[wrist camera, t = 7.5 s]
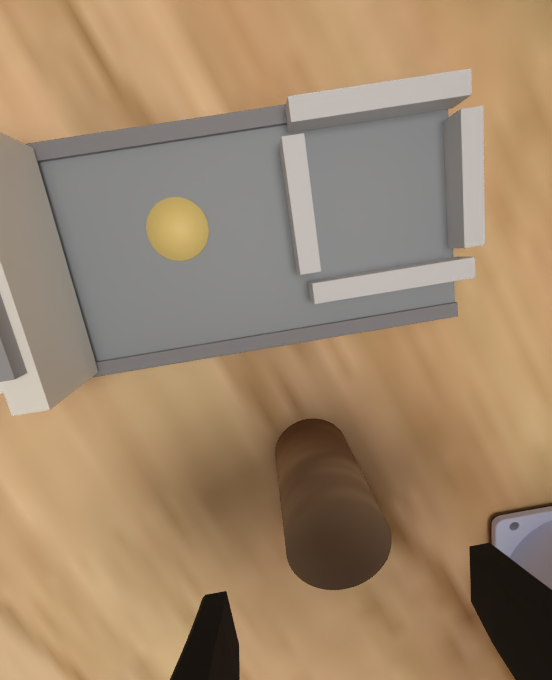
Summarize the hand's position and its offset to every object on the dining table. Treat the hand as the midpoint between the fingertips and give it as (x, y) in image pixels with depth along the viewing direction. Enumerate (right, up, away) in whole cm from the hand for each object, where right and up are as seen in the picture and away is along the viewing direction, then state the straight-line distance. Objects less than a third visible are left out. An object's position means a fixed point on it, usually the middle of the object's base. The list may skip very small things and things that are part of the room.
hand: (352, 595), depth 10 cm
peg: (0, +2, +8) cm, 8 cm away
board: (-8, +11, +5) cm, 14 cm away
